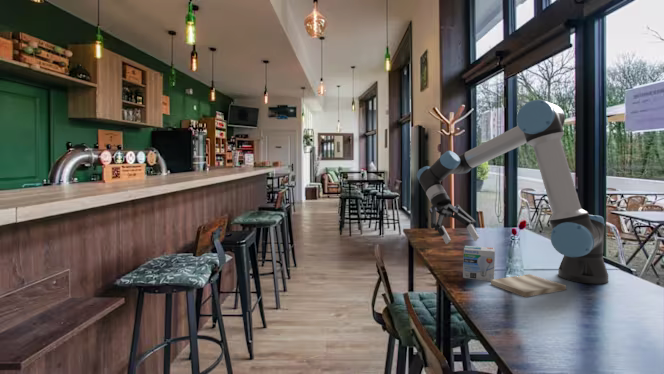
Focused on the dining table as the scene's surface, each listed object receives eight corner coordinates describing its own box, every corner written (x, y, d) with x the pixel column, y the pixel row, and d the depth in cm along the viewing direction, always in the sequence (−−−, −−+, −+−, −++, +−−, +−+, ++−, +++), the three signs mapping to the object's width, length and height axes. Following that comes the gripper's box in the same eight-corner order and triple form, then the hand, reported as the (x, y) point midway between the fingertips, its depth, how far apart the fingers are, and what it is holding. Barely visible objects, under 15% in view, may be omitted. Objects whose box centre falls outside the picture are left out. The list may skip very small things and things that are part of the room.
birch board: (529, 278, 139) (529, 274, 139) (565, 289, 127) (566, 285, 126) (490, 284, 133) (491, 279, 133) (525, 297, 120) (525, 292, 120)
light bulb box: (462, 278, 140) (463, 248, 139) (463, 273, 146) (464, 245, 145) (494, 281, 136) (495, 251, 135) (494, 276, 142) (495, 247, 141)
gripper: (458, 202, 168) (483, 243, 155) (409, 205, 158) (431, 248, 145) (467, 191, 163) (493, 232, 150) (417, 192, 153) (440, 237, 140)
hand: (463, 240), depth 147 cm, fingers open, 13 cm apart
